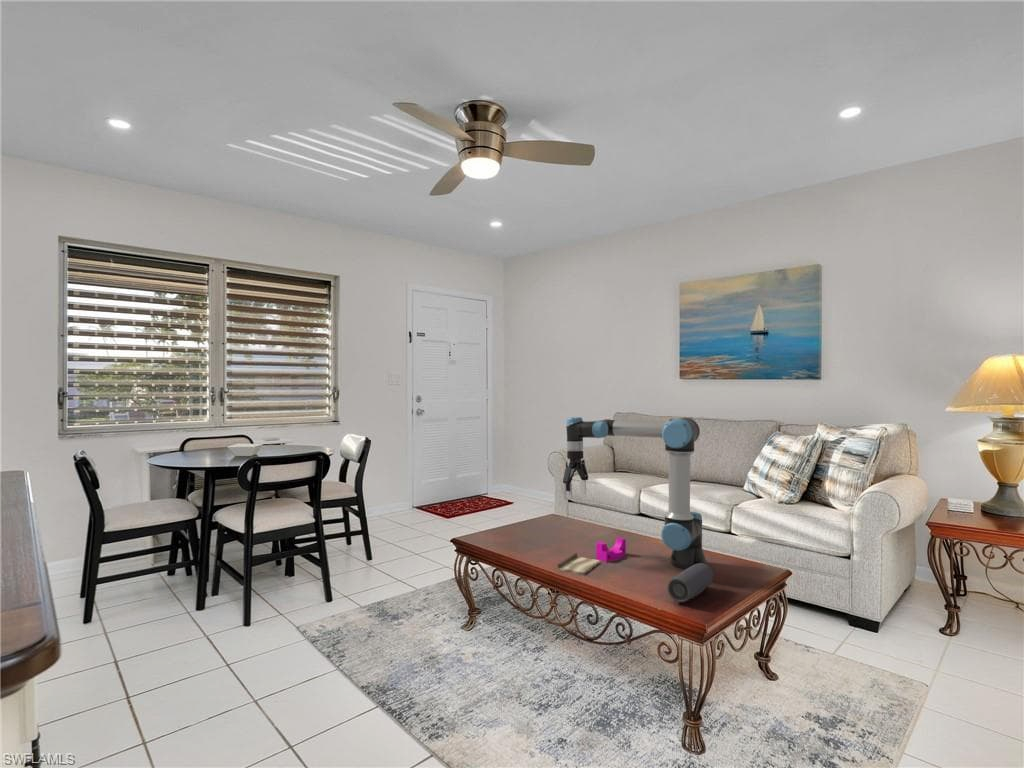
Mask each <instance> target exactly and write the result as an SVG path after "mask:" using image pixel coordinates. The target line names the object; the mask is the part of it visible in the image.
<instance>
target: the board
mask: <svg viewBox="0 0 1024 768" xmlns="http://www.w3.org/2000/svg"><path fill="white" fill-rule="evenodd" d="M597 564H598V565H599V564H601V560H599V559H595V558H594V559H593V558H588V557H582V556H578V553H577V552H574V553H572V554H571V555H569V556H568V557H566V558H565V559H563V560H562V561H560V562H559V563H557V571H560V570H561V571H562V572H566V573H572V574H576V573H577V575H581V574H582V576H585V575H586V574H587V573H589V572H590V571H591V570H592V568H593V567H594V568H595V567H597V566H598V565H597ZM594 568H593V569H594ZM588 571H589V572H588Z"/></svg>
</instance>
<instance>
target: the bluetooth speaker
mask: <svg viewBox="0 0 1024 768" xmlns="http://www.w3.org/2000/svg"><path fill="white" fill-rule="evenodd" d="M713 580H714V573H713V570H712V568H711V567H710V566H709V565H708V564H707V563H706V564H704V563H698V564H695V565H693V566H691V567H689V568H687V569H683V570H682V571H681V572H679V573H678V574H677V575H675V576H674V577H672V578H671V579H670V581H669V582H668V584H667V593H668V594H669V596H670V597H671V599H673V600H674V601H676V602H679V603H684V602H688V601H690V600H689V599H692V598H693V599H695V598H696V597H697V596H699V595H700V594H701V593H702V592H703V591H704V590H706V588H707V587H709V586H710V585H711V583H712V582H713ZM695 596H696V597H695ZM694 597H695V598H694ZM693 599H692V600H693Z"/></svg>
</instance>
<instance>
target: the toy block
mask: <svg viewBox="0 0 1024 768" xmlns="http://www.w3.org/2000/svg"><path fill="white" fill-rule="evenodd" d="M626 542H627V540H626V538H623V537H621V536H620V537H617V538H616V540H615V543H614V545H613V546H612V547H611V548H610V549H609V548H608V544H607V543H606V542H603V541H597V542H596V544H595V545H596V548H595V549H596V551H595V552H596V554H595V555H596V557H595V559H596V558H597V559H596V560H599V559H600V561H601V560H603V561H602V562H604V561H605V562H604V563H609V562H608V561H610V562H612V560H614V561H616V559H617V560H620V558H621V559H624V558H623V556H626V554H627V553H626V550H627V548H626V547H627V546H626V545H627V543H626Z"/></svg>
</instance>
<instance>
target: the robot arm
mask: <svg viewBox="0 0 1024 768" xmlns="http://www.w3.org/2000/svg"><path fill="white" fill-rule="evenodd" d="M565 428H566V449H567V451H566V456H567V459H568V460H569V461H565V470H564V475H563V479H562V483H563V484H565V498H566V499H573V484H572V480H573V477H574V476H575V473H576V472H577V474H578V475H579V478H580V480H579V488H580V489H579V490H580V492H579V493H580V495H587V481H588V480H589V475H588V471H587V467H586V460H585V459H584V451H583V450H584V438H590V439H592V438H593V439H594V438H596V439H602V438H606V437H607V436H609V437H610V436H611V437H615V436H616V437H633V438H652V439H653V438H655V439H656V438H657V439H662V440H663V442H664V445H665V446H664V448H665V452H666V453H667V454H668V511H667V512H666V513H665V514H664V526H663V527H662V529H661V532H660V533H661V535H660V536H661V540H662V541H663V543H664V545H665V546H666V547H667V548H669V549H671V550H672V551H671V553H670V556H669V559H670V560H669V562H670V563H669V564H671V565H672V566H674V567H677V568H679V569H683V570H685V569H687V568H689V567H691V566H693V565H695V564H698V563H704V564H706V565H707V558H706V556H705V552H704V550H703V549H704V548H703V516H702V514H701V513H700V512H695V511H691V455H692V454H694V453H695V442H697V440H698V439H699V437H700V433H701V431H700V430H701V429H700V427H699V424H698V423H697V422H696V421H695V420H694V419H693V418H690V417H681V418H669V420H633V419H631V420H630V419H628V420H627V419H615V420H614V419H609V418H608V419H602V420H594V421H590V420H589V421H586V420H585V421H584V419H583V417H581V416H580V417H579V416H576V417H568V418H566V427H565Z"/></svg>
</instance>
